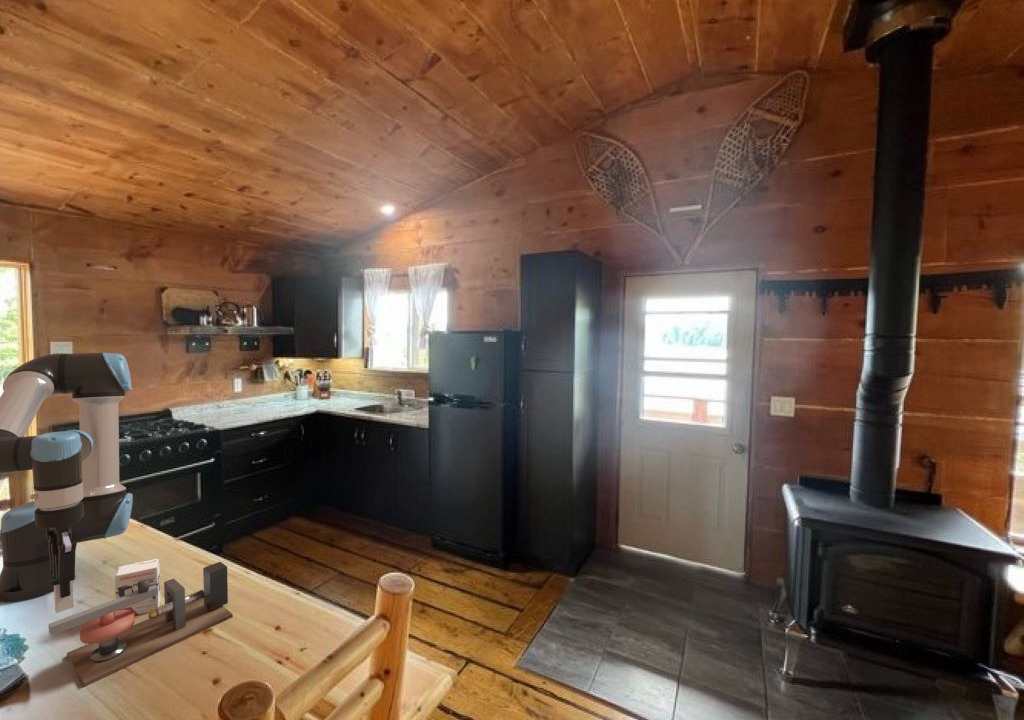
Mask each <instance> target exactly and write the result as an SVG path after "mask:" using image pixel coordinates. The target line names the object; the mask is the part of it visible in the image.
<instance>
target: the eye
mask: <svg viewBox="0 0 1024 720" xmlns="http://www.w3.org/2000/svg"><path fill="white" fill-rule="evenodd" d="M163 591H164V595H163V596H164V605H165V604H167V603H170V602H172V601H173V611H170V612H168V613H165V620H166V621H167V622H170V621H172V620H173V629H174V630H175V631H178V630H180V629H182V628H184V627H186V620H185V596H186V589H185V587H184V586H183V585H182V584H181V583H179V582H178V581H177V580H176V579H175V578H171V579H167V580H166V581H164V582H163Z"/></svg>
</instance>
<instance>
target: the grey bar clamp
mask: <svg viewBox="0 0 1024 720" xmlns="http://www.w3.org/2000/svg"><path fill="white" fill-rule="evenodd" d="M202 572H203V589H200V590H198V591H195V592H192V593H190V594H187V595H185V605H187V604H189V603H192V602H194V601H197V600H199V599H201V598H204V605H205V606H206V607H207V608H208V609H209V610H214V609H216V608H218V607H220V606H225V605H227V604H229V594H228V593H229V591H228V589H229V587H228V586H229V585H228V566H227V564H224V563H223V562H222V561H218V562H215V563H212V564H210V565H208V566H204V567H203V570H202ZM170 611H173V601H172V602H170V603H167V604H165V603H164V604H163V605H159V607H158V608H154V609H152V610H150V611H149V612H148V613H147V617H148V619H155V618H156V617H158V616H160V615H163V614H165V613H168V612H170Z"/></svg>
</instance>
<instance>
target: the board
mask: <svg viewBox="0 0 1024 720" xmlns="http://www.w3.org/2000/svg"><path fill="white" fill-rule="evenodd" d="M233 616H234V614H233V612H231V611H230V610H228V609H227V608H226V607H225V605H223V606H220V607H218V608H216V609H214V610H209V609H208V608H207V607H206V606H205V605H204V598H201V599H199V600H197V601H194V602H192V603H189V604H187V605H185V620H186V627H184V628H182V629H180V630H178V631H175V630H174V629H173V620H172V621H170V622H167V621H166V620H165V614H163V615H160V616H158V617H156V618H155V619H150V618H148V619H147V618H146V619H145V620H142V621H140V622H137V623H134V624H133V626H132V627H131V628H130V629H129V630H128V631H126V632H125V633H123V634H121V635H120V636H118V641H125V642H126V644H127V647H126V650H125V651H124V652H123V653H122V654H120V655H119V656H117V657H115V658H113V659H111V660H108V661H104V662H98V663H97V662H92V661H91V659H90V656H91V653H92V652H93V651H94V650H95V649H97V648H98V647H99V643H93V644H87V643H86V644H84V645H83V646H80V647H78V648H75V649H73V650H70V651H68V652H66V657H67V659H68V661H69V662H70V663H71V666H72V668H73V669H74V671H75V673H76V675H77V676H78V678H79V680H80V682H81V683H82V685H83V687H86V686H89V685H91V684H94V683H95V682H97V681H100V680H102V679H104V678H106V677H108V676H110V675H113V674H115V673H116V672H118V671H121V670H123V669H125V668H127V667H129V666H131V665H134V664H136V663H138V662H140V661H142V660H144V659H146V658H148V657H151V656H153V655H155V654H157V653H159V652H161V651H163V650H166V649H167V648H170V647H172V646H174V645H176V644H178V643H180V642H182V641H185V640H187V639H189V638H190V637H191V638H192V637H193V636H196V635H197V634H200V633H201V631H202V632H204V631H206V630H208V629H210V628H212V627H214V626H217V625H219V624H221V623H223V622H225V621H227V620H229V619H231V618H233ZM114 672H115V673H114Z"/></svg>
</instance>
